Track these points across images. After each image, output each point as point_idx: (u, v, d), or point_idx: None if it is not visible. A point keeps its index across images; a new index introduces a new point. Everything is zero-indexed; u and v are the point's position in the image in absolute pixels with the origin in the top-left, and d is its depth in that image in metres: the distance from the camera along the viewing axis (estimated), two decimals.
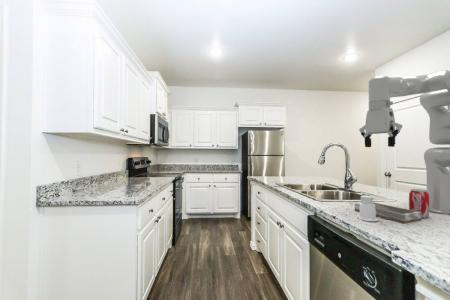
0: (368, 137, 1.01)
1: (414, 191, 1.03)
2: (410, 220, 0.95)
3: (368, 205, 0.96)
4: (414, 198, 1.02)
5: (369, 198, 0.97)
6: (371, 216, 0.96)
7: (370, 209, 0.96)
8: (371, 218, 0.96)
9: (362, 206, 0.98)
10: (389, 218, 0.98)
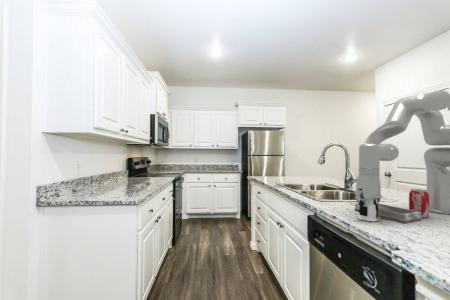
0: None
1: (414, 191, 1.03)
2: (410, 220, 0.95)
3: (368, 205, 0.96)
4: (414, 198, 1.02)
5: None
6: (371, 216, 0.96)
7: (370, 209, 0.96)
8: (371, 218, 0.96)
9: None
10: (389, 218, 0.98)
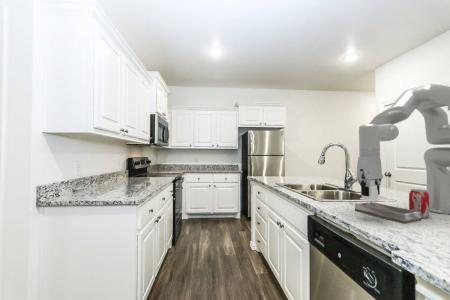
0: None
1: (414, 191, 1.03)
2: (410, 220, 0.95)
3: (370, 185, 0.97)
4: (414, 198, 1.02)
5: None
6: (373, 196, 0.96)
7: (372, 189, 0.96)
8: (373, 198, 0.96)
9: None
10: (389, 218, 0.98)
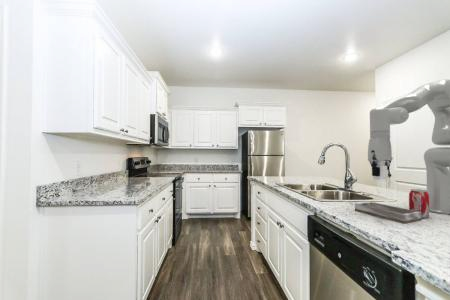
0: None
1: (414, 191, 1.03)
2: (410, 220, 0.95)
3: (380, 166, 1.01)
4: (414, 198, 1.02)
5: None
6: (383, 176, 1.01)
7: (382, 169, 1.01)
8: (384, 178, 1.01)
9: None
10: (389, 218, 0.98)
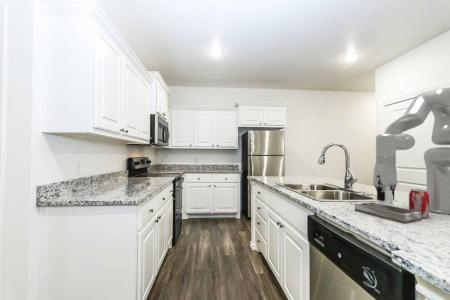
0: None
1: (414, 191, 1.03)
2: (410, 220, 0.95)
3: (385, 190, 1.04)
4: (414, 198, 1.02)
5: None
6: (388, 200, 1.03)
7: (387, 194, 1.03)
8: (388, 202, 1.03)
9: None
10: (389, 218, 0.98)
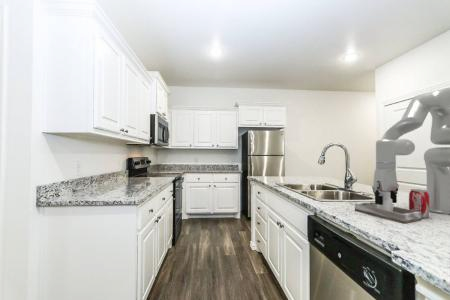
0: None
1: (414, 191, 1.03)
2: (410, 220, 0.95)
3: (386, 199, 1.04)
4: (414, 198, 1.02)
5: (387, 193, 1.04)
6: (389, 209, 1.03)
7: (388, 203, 1.03)
8: None
9: None
10: (389, 218, 0.98)
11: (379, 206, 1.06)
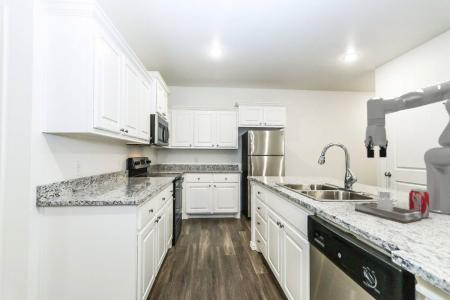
0: None
1: (414, 191, 1.03)
2: (410, 220, 0.95)
3: (386, 199, 1.04)
4: (414, 198, 1.02)
5: (387, 193, 1.04)
6: (389, 209, 1.03)
7: (388, 203, 1.03)
8: None
9: (380, 200, 1.05)
10: (389, 218, 0.98)
11: (379, 206, 1.06)
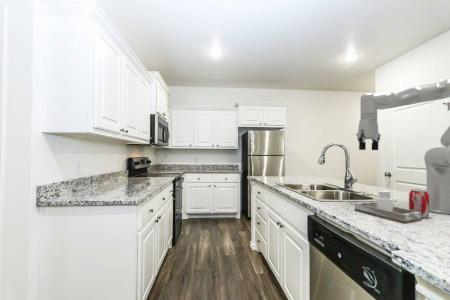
0: None
1: (414, 191, 1.03)
2: (410, 220, 0.95)
3: (386, 199, 1.04)
4: (414, 198, 1.02)
5: (387, 193, 1.04)
6: (389, 209, 1.03)
7: (388, 203, 1.03)
8: None
9: (380, 200, 1.05)
10: (389, 218, 0.98)
11: (379, 206, 1.06)
